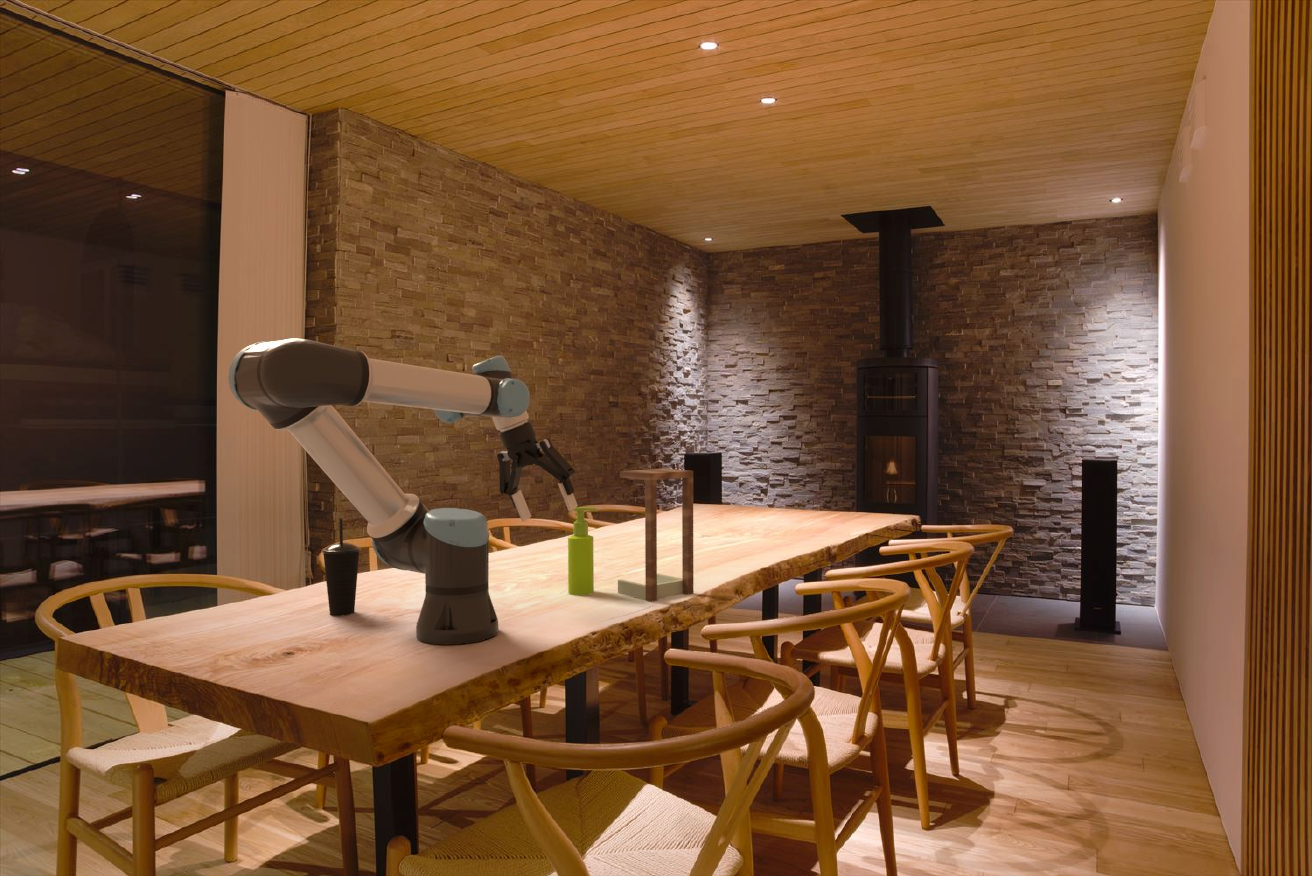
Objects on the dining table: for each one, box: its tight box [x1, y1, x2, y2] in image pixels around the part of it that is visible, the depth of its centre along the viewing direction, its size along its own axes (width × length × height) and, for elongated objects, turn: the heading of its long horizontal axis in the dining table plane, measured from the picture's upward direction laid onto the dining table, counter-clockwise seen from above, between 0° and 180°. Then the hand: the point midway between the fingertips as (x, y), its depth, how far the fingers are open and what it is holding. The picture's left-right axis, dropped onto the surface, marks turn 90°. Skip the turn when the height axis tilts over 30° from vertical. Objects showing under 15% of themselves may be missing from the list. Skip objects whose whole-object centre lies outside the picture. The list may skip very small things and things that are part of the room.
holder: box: [617, 573, 683, 601], centre depth 197 cm, size 12×10×3 cm
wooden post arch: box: [619, 468, 694, 603], centre depth 195 cm, size 13×11×28 cm
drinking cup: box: [321, 517, 362, 617], centre depth 177 cm, size 8×8×20 cm
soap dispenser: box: [567, 506, 598, 596], centre depth 197 cm, size 6×7×20 cm
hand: (549, 514), depth 188 cm, fingers open, 13 cm apart
